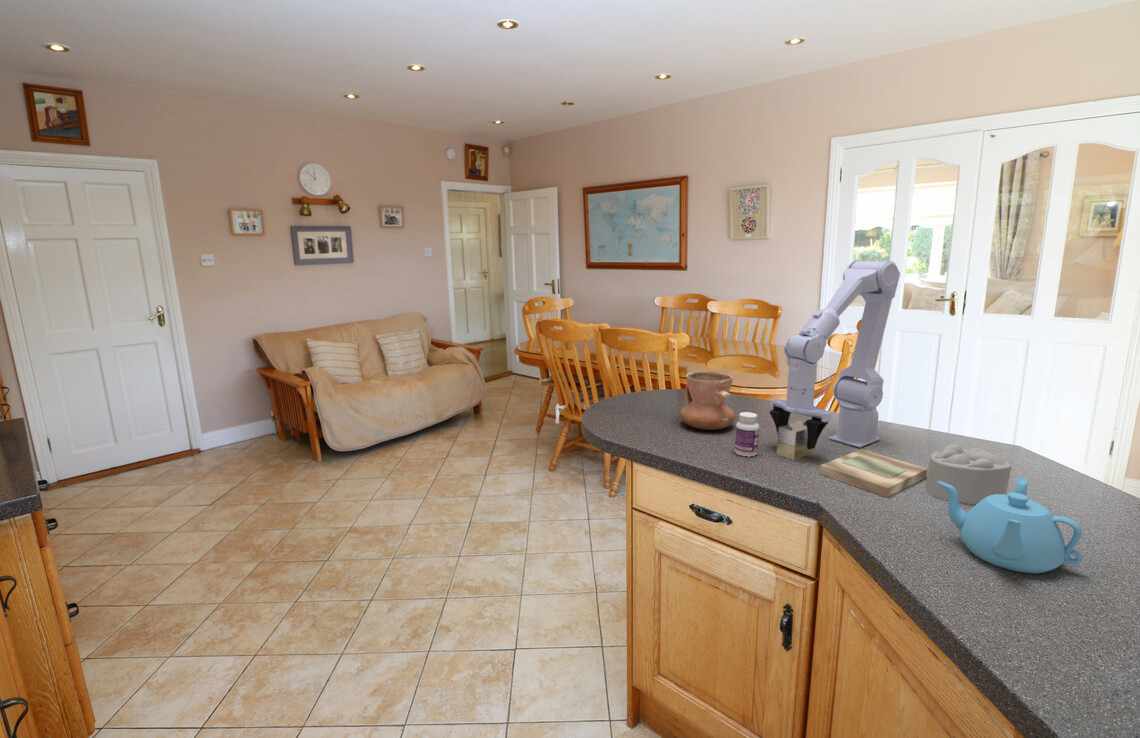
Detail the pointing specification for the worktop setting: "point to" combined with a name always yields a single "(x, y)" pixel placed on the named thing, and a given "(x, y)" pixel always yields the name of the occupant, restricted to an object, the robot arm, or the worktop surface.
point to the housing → (793, 440)
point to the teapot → (1014, 531)
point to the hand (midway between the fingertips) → (796, 443)
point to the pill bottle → (747, 435)
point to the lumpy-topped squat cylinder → (967, 473)
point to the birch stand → (874, 472)
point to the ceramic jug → (707, 401)
